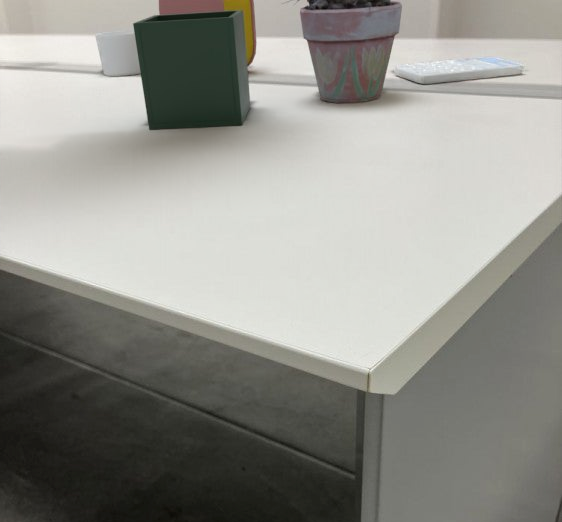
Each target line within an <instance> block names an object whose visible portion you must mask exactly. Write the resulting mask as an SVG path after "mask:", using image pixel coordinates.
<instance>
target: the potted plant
mask: <svg viewBox="0 0 562 522" xmlns="http://www.w3.org/2000/svg"><path fill="white" fill-rule="evenodd" d="M292 1H293V0H288V1H285V2H283V3H281V5H283V4H286V3H289V2H292ZM299 1H300V0H296V1H295V3H294V5H296V4H297V3H298V2H299ZM306 2H307V3H308V5H305V6H304V7H301V8H300V9H299V16H300V23H301V29H302V37H303V39H304V40H306V42H307V47H308V51H309V54H310V60H311V63H312V67H313V72H314V76H315V80H316V84H317V90H318V93H319V99H320V101H323V102H329V103H333V104H356V103H357V104H358V103H365V102H371V101H375V100H378V99H380V97H382V92H383V88H384V85H385V81H386V75H387V71H388V67H389V62H390V58H391V53H392V49H393V45H394V41H395V36H396V35H398V34H399V33H400V28H401V27H400V26H401V19H402V10H403V5H402V2H400V1H394V0H306Z"/></svg>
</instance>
